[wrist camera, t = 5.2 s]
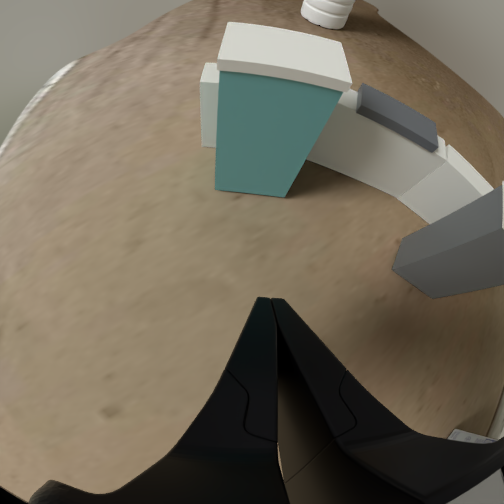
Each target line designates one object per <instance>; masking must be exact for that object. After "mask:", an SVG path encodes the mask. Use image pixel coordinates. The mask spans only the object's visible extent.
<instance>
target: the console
mask: <svg viewBox="0 0 504 504" xmlns="http://www.w3.org/2000/svg"><path fill="white" fill-rule="evenodd" d="M219 73H220V71H219V70H217V63H205V66H204V70H203V73H202V76H201V80H200V111H201V139H202V147H214V148H216V134H217V110H218V90H219ZM306 160H309V161H312V162H314V163H317V164H319V165H322V166H325V167H327V168H330V169H332V170H335V171H337V172H340V173H342V174H345V175H347V176H349V177H352V178H354V179H356V180H359V181H361V182H363V183H366V184H368V185H370V186H372V187H375V188H377V189H379V190H381V191H383V192H385V193H388V194H390V195H392V196H394V197H396V198H397V199H398V200H399V201H401V202H402V203H403V204H405V205H406V206H407V207H409V208H410V209H411V210H413V211H414V212H415V213H416V214H418V215H419V216H420V217H421V218H423V219H424V220H425V221H426V222H428V223H429V224H432V223H434V222H436V221H438V220H440V219H441V218H443V217H445V216H447V215H449V214H451V213H453V212H455V211H456V210H458V209H460V208H462V207H464V206H466V205H467V204H469V203H471V202H473V201H475V200H476V199H478V198H480V197H482V196H484V195H485V194H487V193H489V192H491V191H492V190H494V189H493V188H492V187H491V185H490V184H489V183H488V182H487V181H486V180H485V179H484V178H483V177H482V176H481V175H480V174H479V173H478V172H477V171H476V170H475V169H474V168H473V166H472V165H470V164H469V163H468V162H467V161H466V160H465V159H464V158H463V157H462V156H461V155H460V154H459V153H458V152H457V151H456V150H455V149H454V148H453V147H451V146H450V145H448V146H446V147H445V140H443V139H442V138H440V137H439V136H437V130H436V123H435V122H433V121H432V120H430V119H428V118H427V117H425V116H424V115H422V114H420V113H419V112H417V111H415V110H414V109H412V108H410V107H408V106H407V105H405V104H403V103H401V102H399V101H398V100H396V99H394V98H392V97H390V96H388V95H386V94H384V93H382V92H380V91H378V90H376V89H374V88H372V87H370V86H368V85H366V84H364V83H362V85H361V86H360V88H359V90H358V92H356V91H354V90H352V89H349V90H348V92H347V93H345V92H343V94H342V96H341V97H340V99H339V101H338V103H337V105H336V106H335V108H334V110H333V112H332V114H331V115H330V117H329V119H328V121H327V123H326V124H325V126H324V128H323V130H322V131H321V133H320V135H319V137H318V139H317V140H316V142H315V144H314V146H313V148H312V149H311V151H310V153H309V155H308V156H307V158H306Z"/></svg>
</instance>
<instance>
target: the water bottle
mask: <svg viewBox="0 0 504 504" xmlns="http://www.w3.org/2000/svg"><path fill="white" fill-rule="evenodd" d="M355 1H356V0H304V2H303V5H302V8H301V14H302V16H303V17H304V18H305V19H308V21H310V22H311V23H313V24H316V25H320V26H321V27H324V28H329V29H332V28H333V29H341V28H342V27H344V25H345V23H346V21H347V18H348V15H349V13H350V11H351V9H352V7H353V3H354V2H355Z"/></svg>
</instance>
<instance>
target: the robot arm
mask: <svg viewBox="0 0 504 504" xmlns="http://www.w3.org/2000/svg"><path fill="white" fill-rule="evenodd" d="M277 442H278V444H277ZM278 446H279V452H280V459H281V465H282V471H283V477H282V473H281V470H280V466H279V461H278ZM283 478H284V480H283ZM284 483H285V484H284ZM0 504H504V437H503V438H501V439H499V440H498V441H496V442H493V443H485V444H482V443H471V442H463V441H456V440H450V439H443V438H438V437H432V436H427V435H423V434H420V433H418V432H416V431H414V430H412V429H411V428H409V427H408V426H407V425H405V424H404V423H403V422H402V421H401V420H400V419H398V418H397V417H396V416H395V415H394V414H393V413H391V412H390V411H389V410H388V409H387V408H386V407H385V406H383V405H382V404H381V403H380V402H379V401H378V400H377V399H376V398H375V397H374V396H372V395H371V394H370V393H369V392H368V391H367V390H366V389H365V388H364V387H363V386H362V385H361V384H360V383H359V382H358V381H357V380H356V379H355V377H354V376H353V375H352V374H351V373H350V372H349V371H348V370H346V368H345V366H344V365H343V364H342V363H341V362H340V361H339V360H338V359H337V358H336V356H335V355H334V354H333V353H332V352H331V351H330V350H329V349H328V348H327V346H326V345H325V344H324V343H323V342H322V341H321V340H320V339H319V338H318V336H317V335H316V334H315V333H314V332H313V331H312V330H311V329H310V328H309V326H308V325H307V324H306V323H305V322H304V321H303V320H302V319H301V317H300V316H299V315H298V314H297V313H296V312H295V311H294V310H293V308H292V307H291V306H290V305H289V304H288V303H287V302H286V301H285V300H284V299H282V298H271V299H270V298H267V297H257V299H256V301H255V303H254V305H253V308H252V310H251V312H250V314H249V317H248V319H247V321H246V323H245V325H244V328H243V330H242V332H241V334H240V337H239V339H238V341H237V343H236V345H235V347H234V350H233V352H232V354H231V356H230V358H229V361H228V363H227V365H226V367H225V370H224V371H223V373H222V375H221V377H220V379H219V381H218V383H217V385H216V387H215V389H214V391H213V393H212V394H211V396H210V397H209V399H208V401H207V402H206V404H205V405H204V407H203V408H202V410H201V411H200V412H199V414H198V415H197V417H196V418H195V419H194V421H193V422H192V424H191V425H190V426H189V428H188V429H187V430H186V432H185V433H184V434H183V436H182V437H181V439H180V440H179V441H178V442H177V444H176V445H175V446H174V447H173V448H172V449H171V450H170V451H169V452H168V453H167V454H166V455H165V456H164V457H163V458H162V459H160V460H159V461H158V462H156V463H155V464H154V465H152V466H151V467H150V468H148V469H147V470H145V471H144V472H143V473H141V474H140V475H138V476H137V477H136V478H134V479H133V480H131V481H130V482H128V483H127V484H125V485H124V486H122V487H121V488H119V489H117V490H115V491H113V492H110V493H106V494H93V493H89V492H85V491H83V490H80V489H77V488H74V487H72V486H69V485H66V484H64V483H61V482H58V481H55V480H49V481H47V482H46V483H45V484H44V485H43V486H42V487H41V488H39V489H38V490H37V491H36V492H35V493H34V494H33V495H32V497H31V498H30V500H29V503H28V502H27V501H25V500H23V499H21V498H19V497H18V496H16V495H14V494H13V493H11V492H9V491H8V490H6V489H5V488H3V487H2V486H0Z"/></svg>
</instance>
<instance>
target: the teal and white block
mask: <svg viewBox="0 0 504 504" xmlns="http://www.w3.org/2000/svg"><path fill="white" fill-rule="evenodd" d="M217 70H219V71H220V73H219V90H218V110H217V134H216V167H215V190H223V191H233V192H243V193H252V194H260V195H269V196H277V197H284V198H285V196H286V194H287V192H288V190H289V189H290V187H291V185H292V183H293V181H294V180H295V178H296V176H297V174H298V173H299V171H300V169H301V167H302V165H303V164H304V162H305V160H306V158H307V156H308V155H309V153H310V151H311V149H312V148H313V146H314V144H315V142H316V140H317V139H318V137H319V135H320V133H321V131H322V130H323V128H324V126H325V124H326V123H327V121H328V119H329V117H330V115H331V114H332V112H333V110H334V108H335V106H336V105H337V103H338V101H339V99H340V97H341V96H342V94H343V92H345V93H347V92H348V90H349V88H350V86H351V85H352V80H351V76H350V72H349V69H348V65H347V61H346V58H345V54H344V51H343V47H342V44H341V42H337V41H334V40H330V39H326V38H322V37H319V36H314V35H310V34H306V33H301V32H297V31H292V30H286V29H281V28H275V27H269V26H262V25H254V24H246V23H236V22H228V24H227V27H226V31H225V34H224V37H223V41H222V44H221V48H220V51H219V55H218V59H217Z"/></svg>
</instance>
